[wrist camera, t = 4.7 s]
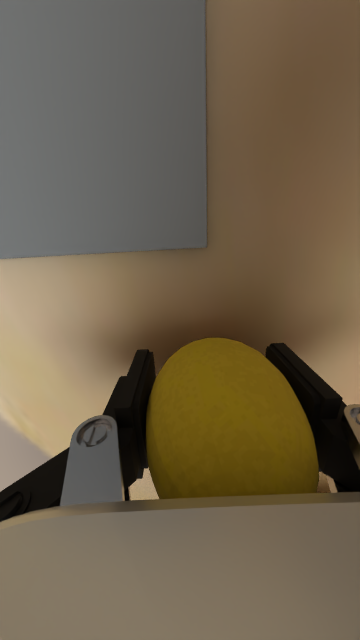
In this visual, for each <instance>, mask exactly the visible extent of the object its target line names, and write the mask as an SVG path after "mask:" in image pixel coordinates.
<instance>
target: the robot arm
mask: <svg viewBox="0 0 360 640" xmlns="http://www.w3.org/2000/svg"><path fill="white" fill-rule="evenodd" d="M266 358H267V359H268V360H269V361H270V362H271V363H272V364H273V365H274V366H275V367H276V368H277V369H278V370H279V371H280V372H281V373H282V374H283V375H284V377H285V378H286V380H287V381H288V383H289V384H290V386H291V388H292V389H293V391H294V393H295V395H296V397H297V399H298V400H299V402H300V404H301V406H302V408H303V410H304V412H305V414H306V417H307V419H308V422H309V424H310V427H311V430H312V434H313V437H314V441H315V446H316V452H317V459H318V465H319V472H323V473H324V474H326V476H327V481H328V485H329V488H330V491H331V493H308V494H280V495H253V496H226V497H202V498H178V499H155V500H132V501H131V496H130V487H129V486H131V485H132V484H133V483H134V482H135V481H136V480H137V479H142V477H143V471H144V468H148V467H149V465H148V459H147V450H146V412H147V404H148V400H149V397H150V394H151V391H152V388H153V385H154V382H155V379H156V375H155V366H154V357H153V352H149V350H137V352H136V354H135V357H134V359H133V362H132V364H131V367H130V369H129V372H128V374H127V376H121V377H120V378H119V380H118V382H117V384H116V386H115V388H114V391H113V393H112V395H111V397H110V399H109V402H108V404H107V406H106V408H105V410H104V413H103V415H100V416H95V417H92V418H90V419H88V420H86V421H84V422H83V423H82V424H81V425H79V426H78V427H77V428H76V430H75V431H74V433H73V435H72V438H71V443H70V447H69V448H67V449H66V450H64V451H63V452H61V453H60V454H58V455H56V456H55V457H53V458H52V459H50V460H49V461H47V462H46V463H44V464H42V465H41V466H39V467H38V468H36V469H35V470H33V471H32V472H30V473H29V474H27V475H26V476H24V477H22V478H21V479H19V480H18V481H16V482H15V483H13V484H12V485H10V486H8V487H7V488H5V489H4V490H2V491H1V492H0V640H360V405H359V404H352V405H348V406H347V405H346V404H345V403H344V402H343V401H342V397H341V396H340V395H339V394H338V393H337V392H336V391H334V390H333V389H332V388H331V387H330V386H329V385H328V384H327V383H326V382H325V381H324V380H323V379H322V378H321V377H320V376H318V375H317V374H316V373H315V372H314V371H313V370H312V369H311V368H310V367H309V366H308V365H307V364H306V363H305V362H303V361H302V360H301V359H300V358H299V357H298V356H297V355H296V354H295V353H294V352H293V351H292V350H291V349H290V348H289V347H287V346H286V345H285V344H284V343H271V344H270V346H268V347H267V348H266Z"/></svg>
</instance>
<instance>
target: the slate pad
mask: <svg viewBox="0 0 360 640" xmlns="http://www.w3.org/2000/svg"><path fill="white" fill-rule="evenodd" d="M203 247H207V172H206V39H205V0H0V259H7V258H25V257H43V256H61V255H79V254H96V253H114V252H132V251H150V250H167V249H185V248H203Z"/></svg>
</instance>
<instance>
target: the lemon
mask: <svg viewBox="0 0 360 640" xmlns="http://www.w3.org/2000/svg"><path fill="white" fill-rule="evenodd" d="M146 450H147V459H148V465H149V470H150V473H151V477H152V481H153V483H154V486H155V489H156V492H157V494H158V496H159V499H178V498H202V497H226V496H253V495H280V494H308V493H316V492H317V487H318V481H319V465H318V459H317V452H316V446H315V441H314V437H313V434H312V430H311V427H310V424H309V422H308V419H307V417H306V414H305V412H304V410H303V408H302V406H301V404H300V402H299V400H298V399H297V397H296V395H295V393H294V391H293V389H292V388H291V386H290V384H289V383H288V381H287V380H286V378H285V377H284V375H283V374H282V373H281V372H280V371H279V370H278V369H277V368H276V367H275V366H274V365H273V364H272V363H271V362H270V361H269V360H268V359H267V358H266V357H265V356H263V355H262V354H261V353H260V352H258V351H257V350H255V349H253V348H251V347H249V346H247V345H245V344H243V343H241V342H239V341H235V340H230V339H226V338H205V339H201V340H196V341H193V342H191V343H189V344H187V345H185V346H183V347H181V348H180V349H179V350H178V351H177V352H175V353H174V354H173V355H172V356H171V357H170V358H169V359H168V360H167V361H166V363H165V364H164V366H163V367H162V369H161V370H160V371H159V373H158V375H157V377H156V379H155V382H154V385H153V388H152V391H151V394H150V397H149V400H148V404H147V412H146Z"/></svg>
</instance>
